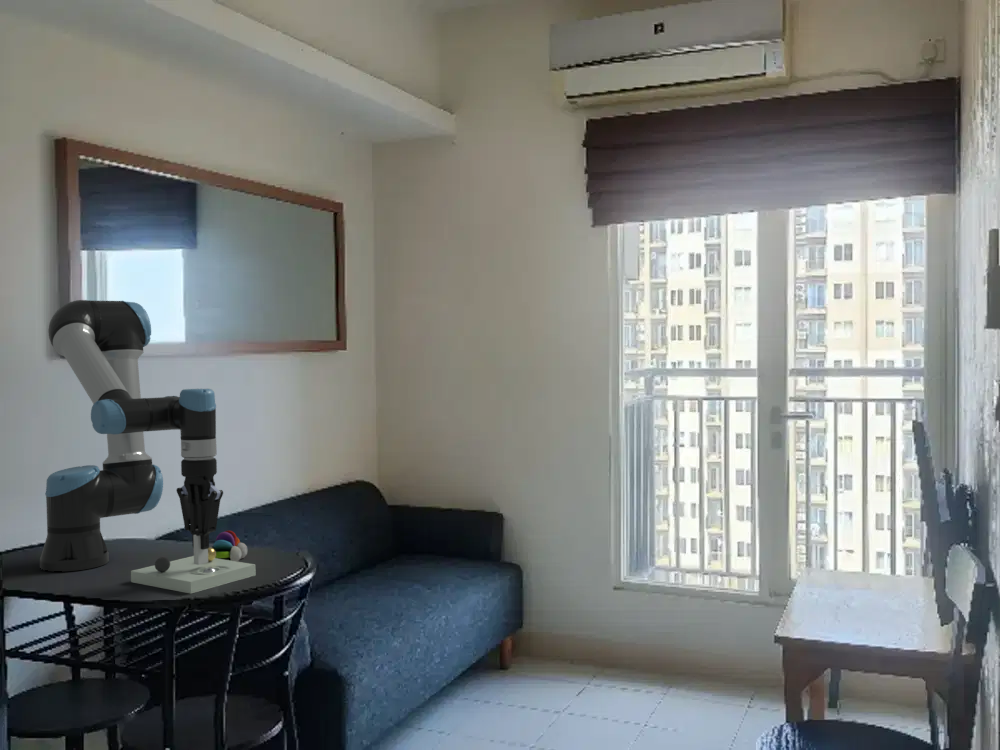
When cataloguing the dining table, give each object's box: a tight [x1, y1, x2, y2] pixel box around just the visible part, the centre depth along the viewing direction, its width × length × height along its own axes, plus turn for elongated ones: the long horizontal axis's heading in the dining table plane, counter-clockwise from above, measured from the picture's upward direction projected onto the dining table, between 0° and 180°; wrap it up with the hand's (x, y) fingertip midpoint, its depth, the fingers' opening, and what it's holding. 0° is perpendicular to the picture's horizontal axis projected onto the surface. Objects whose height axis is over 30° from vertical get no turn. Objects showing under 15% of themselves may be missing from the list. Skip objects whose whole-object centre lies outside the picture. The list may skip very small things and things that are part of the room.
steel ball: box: [203, 567, 216, 573], centre depth 203 cm, size 3×3×3 cm
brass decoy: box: [208, 546, 216, 562], centre depth 212 cm, size 3×3×3 cm
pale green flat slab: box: [130, 555, 257, 594], centre depth 206 cm, size 20×18×2 cm
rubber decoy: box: [154, 556, 170, 572], centre depth 202 cm, size 3×3×3 cm
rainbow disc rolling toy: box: [209, 530, 249, 562], centre depth 224 cm, size 8×10×7 cm
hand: (201, 563), depth 204 cm, fingers closed
